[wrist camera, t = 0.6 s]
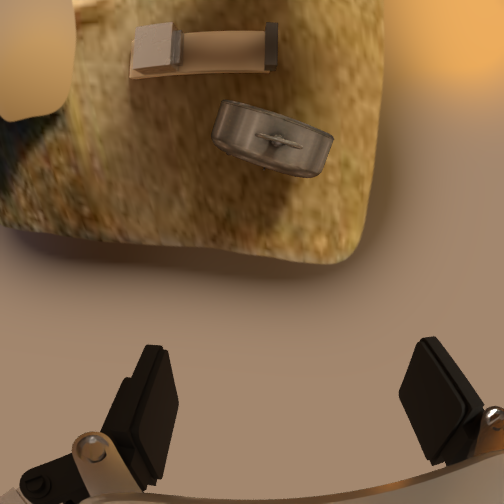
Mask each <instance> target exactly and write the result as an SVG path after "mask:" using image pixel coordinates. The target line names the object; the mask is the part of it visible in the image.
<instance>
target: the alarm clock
mask: <svg viewBox="0 0 504 504" xmlns="http://www.w3.org/2000/svg"><path fill="white" fill-rule="evenodd" d="M211 138H212V141H213V143H214V144H215V145H216V146H217V147H218V148H219V149H221V150H222V151H224V152H226V154H227V155H232V156H234V157H237V158H240V159H242V160H245V161H247V162H250V163H253V164H255V165H259V166H262V167H264V168H263V170H265V168H268V169H271V170H274V171H277V172H281V173H284V174H288V175H292V176H295V177H302V178H312V177H315V176H317V175H319V174H320V173H321V172H322V170H323V167H324V164H325V162H326V159H327V156H328V154H329V151H330V148H331V145H332V143H333V140H334V138H333V136H332V135H330V134H329V133H326V132H324V131H322V130H319V129H317V128H315V127H312V126H310V125H308V124H305V123H303V122H300V121H298V120H295V119H292V118H289V117H287V116H284V115H281V114H278V113H275V112H272V111H268V110H265V109H262V108H258V107H255V106H251V105H248V104H244V103H240V102H236V101H232V100H223V101H221V106H220V109H219V112H218V115H217V118H216V121H215V124H214V127H213V130H212V134H211Z"/></svg>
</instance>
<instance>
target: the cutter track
mask: <svg viewBox="0 0 504 504" xmlns="http://www.w3.org/2000/svg"><path fill="white" fill-rule="evenodd" d="M134 42H135V40H132V46H131V59H130V76H129V78H131V79H134V80H135V79H143V78H151V77H161V76H171V75H185V74H202V73H269V72H270V71H275V70H276V67H277V56H278V23H270V22H266V28H265V31H210V32H193V33H184V49H183V66H179V68H178V72H169V73H159V74H150V75H143V74H141V73H139V72H137V71H135V70H133V54H134Z"/></svg>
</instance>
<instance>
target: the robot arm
mask: <svg viewBox="0 0 504 504" xmlns="http://www.w3.org/2000/svg"><path fill="white" fill-rule="evenodd" d="M399 398H400V401H401V403H402V405H403V407H404V409H405V412H406V414H407V416H408V418H409V420H410V423H411V425H412V427H413V429H414V432H415V434H416V436H417V438H418V441H419V443H420V445H421V448H422V450H423V452H424V455H425V457H426V459H427V460H430V462H431V464H432V466H434V465H437V464H440V463H443V462H444V461H445V463H446V467H445V468H442V469H438V470H435V471H432V472H429V473H426V474H423V475H419V476H416V477H412V478H409V479H406V480H401V481H398V482H394V483H390V484H385V485H381V486H376V487H372V488H366V489H361V490H356V491H350V492H344V493H337V494H330V495H323V496H313V497H303V498H289V499H268V500H231V499H208V498H195V497H184V496H174V495H162V494H154V493H144V492H143V491H145V490H146V489H147V485H153V486H156V482H157V479H162V477H163V472H164V468H165V463H166V459H167V454H168V450H169V445H170V441H171V437H172V432H173V428H174V423H175V419H176V415H177V411H178V405H179V401H178V396H177V391H176V387H175V383H174V378H173V374H172V368H171V364H170V359H169V354H168V351H167V350H163V347H162V346H160V345H146V346H145V348H144V350H143V352H142V354H141V357H140V359H139V361H138V363H137V366H136V368H135V370H134V373H133V375H132V377H131V378H128V377H126V378H124V380H123V381H122V383H121V386H120V388H119V390H118V392H117V395H116V397H115V399H114V401H113V403H112V406H111V408H110V410H109V413H108V415H107V417H106V420H105V422H104V424H103V427H102V429H101V431H100V432H93V431H92V432H87V433H84V434H82V435H80V436H79V437H78V438H77V439H76V440H75V441H74V443H73V445H72V453H70V454H68V455H65V456H63V457H61V458H58V459H56V460H53V461H50V462H48V463H45V464H43V465H40V466H37V467H35V468H32V469H30V470H28V471H26V472H25V473H24V474H23V475H22V477H21V479H20V487H19V488H18V489H17V490H16V489H15V488H12V489H11V490H9V491H8V492H7V493H5V494H4V495H3V496H1V497H0V504H504V409H503V408H501V407H498V406H491V407H489V408H487V409H486V410H484V409H483V406H484V403H483V402H482V400H481V399H480V397H479V396H478V394H477V393H476V392H475V390H474V388H473V387H472V386H471V384H470V383H469V381H468V380H467V378H466V377H465V375H464V374H463V373H462V371H461V370H460V368H459V367H458V366H457V364H456V363H455V362H454V360H453V359H452V357H451V356H450V355H449V353H448V352H447V351H446V349H445V348H444V347H443V346H442V344H441V343H440V342H439V340H438V339H437V338H436V337H434V336H433V337H426V338H422V339H421V340H420V341H419V342H418V343H417V344H416V347H415V349H414V352H413V355H412V358H411V361H410V364H409V366H408V369H407V372H406V374H405V377H404V380H403V382H402V385H401V387H400V390H399Z"/></svg>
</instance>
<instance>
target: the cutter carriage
mask: <svg viewBox="0 0 504 504" xmlns="http://www.w3.org/2000/svg"><path fill="white" fill-rule="evenodd" d="M183 49H184V33H183V32H182V30H178V29H177V27H176V26H175V25H174V23H173V22H168V23H160V24H153V25H146V26H140V27H136V31H135V42H134V54H133V70H135V71H137V72H139V73H141V74H143V75H150V74H159V73H169V72H178V68H179V66H183Z"/></svg>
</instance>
